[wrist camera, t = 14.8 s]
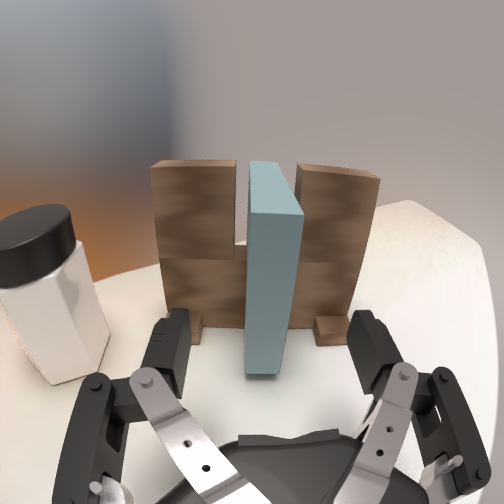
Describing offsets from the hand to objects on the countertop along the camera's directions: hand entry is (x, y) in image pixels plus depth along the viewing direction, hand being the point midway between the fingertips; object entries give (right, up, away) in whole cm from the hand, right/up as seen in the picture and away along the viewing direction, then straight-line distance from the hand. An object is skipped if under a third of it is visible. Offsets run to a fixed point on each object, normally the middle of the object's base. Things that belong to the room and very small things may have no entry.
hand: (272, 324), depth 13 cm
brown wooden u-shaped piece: (0, -3, +12) cm, 13 cm away
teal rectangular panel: (0, -2, +12) cm, 12 cm away
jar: (-17, -5, +7) cm, 19 cm away
